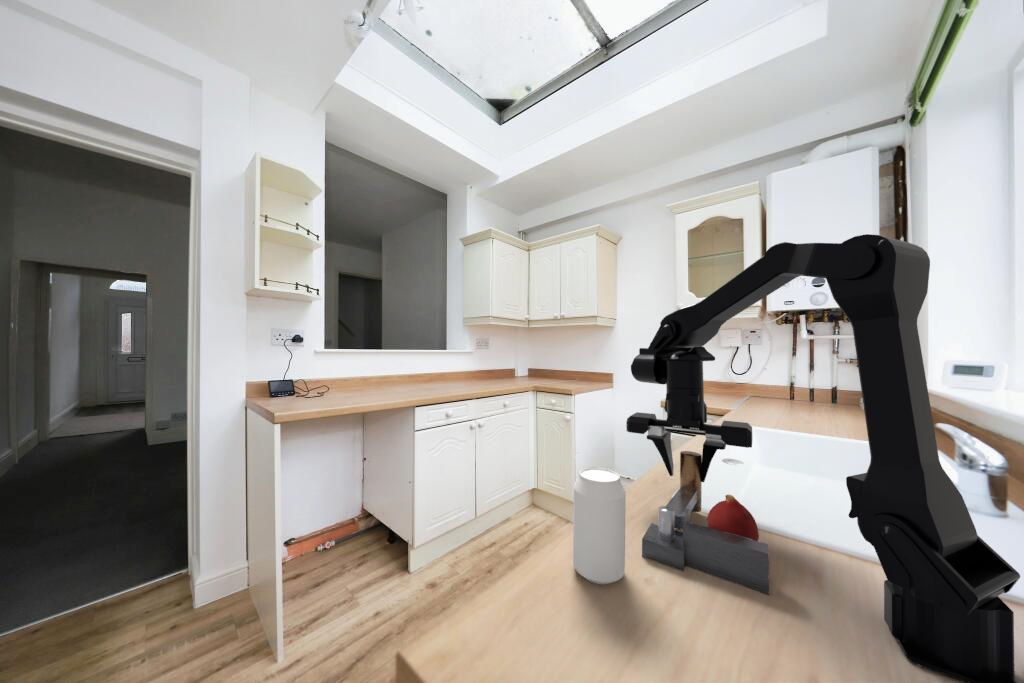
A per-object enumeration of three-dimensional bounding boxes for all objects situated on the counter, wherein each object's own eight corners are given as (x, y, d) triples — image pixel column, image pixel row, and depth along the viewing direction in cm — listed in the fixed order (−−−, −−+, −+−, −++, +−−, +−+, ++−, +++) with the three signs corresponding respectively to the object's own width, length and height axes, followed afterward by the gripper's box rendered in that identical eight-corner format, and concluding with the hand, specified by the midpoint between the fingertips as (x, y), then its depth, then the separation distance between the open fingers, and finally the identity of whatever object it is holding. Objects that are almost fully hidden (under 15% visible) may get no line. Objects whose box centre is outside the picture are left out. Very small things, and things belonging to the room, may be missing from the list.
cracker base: (767, 577, 41) (768, 527, 42) (769, 602, 37) (769, 546, 38) (651, 539, 49) (651, 498, 49) (642, 556, 45) (642, 511, 45)
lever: (684, 544, 46) (685, 478, 47) (658, 535, 49) (659, 472, 49) (704, 507, 58) (704, 453, 58) (682, 501, 60) (682, 450, 60)
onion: (742, 544, 49) (742, 487, 49) (769, 570, 43) (769, 506, 43) (699, 541, 49) (700, 485, 49) (720, 566, 43) (720, 503, 44)
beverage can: (575, 553, 46) (576, 463, 46) (623, 561, 44) (624, 468, 44) (570, 583, 40) (571, 480, 40) (626, 594, 38) (627, 486, 38)
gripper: (751, 385, 60) (754, 475, 59) (641, 380, 71) (643, 456, 70) (750, 392, 51) (753, 498, 50) (624, 385, 62) (626, 472, 61)
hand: (686, 478), depth 58 cm, fingers open, 4 cm apart
